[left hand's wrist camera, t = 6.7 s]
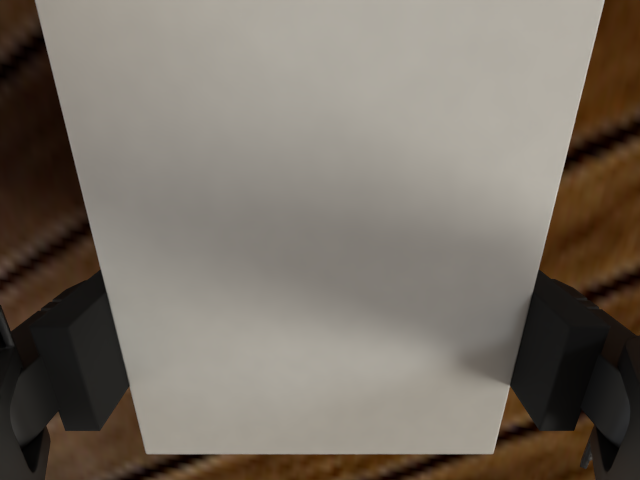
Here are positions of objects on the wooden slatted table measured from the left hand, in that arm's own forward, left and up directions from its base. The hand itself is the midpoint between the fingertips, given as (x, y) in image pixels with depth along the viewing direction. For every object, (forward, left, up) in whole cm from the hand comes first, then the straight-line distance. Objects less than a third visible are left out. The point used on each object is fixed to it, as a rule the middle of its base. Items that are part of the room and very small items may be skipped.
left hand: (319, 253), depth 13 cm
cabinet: (+3, +5, -6) cm, 8 cm away
